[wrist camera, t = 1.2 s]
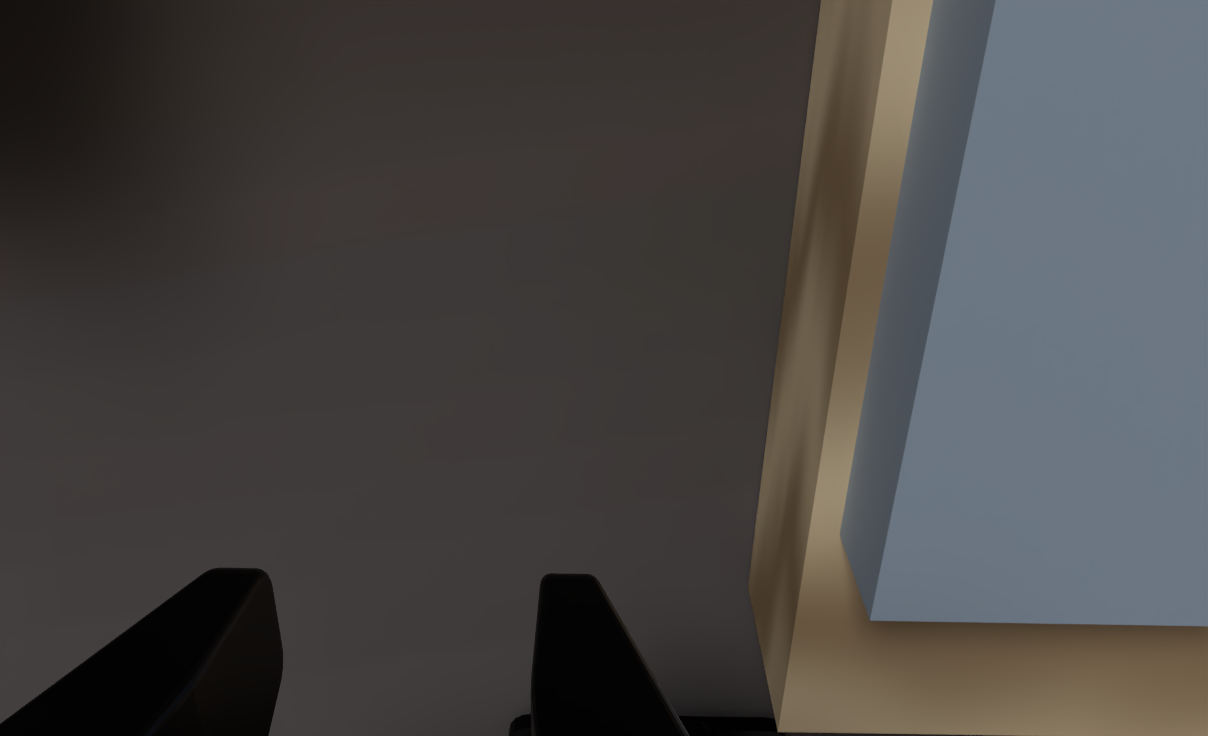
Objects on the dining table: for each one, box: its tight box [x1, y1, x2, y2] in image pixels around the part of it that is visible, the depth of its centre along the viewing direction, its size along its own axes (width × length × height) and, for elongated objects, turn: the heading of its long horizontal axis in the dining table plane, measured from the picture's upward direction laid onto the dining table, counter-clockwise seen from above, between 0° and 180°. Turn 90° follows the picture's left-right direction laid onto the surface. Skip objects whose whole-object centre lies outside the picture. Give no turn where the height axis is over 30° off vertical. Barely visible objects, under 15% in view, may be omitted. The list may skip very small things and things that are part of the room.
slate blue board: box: [840, 0, 1208, 626], centre depth 13 cm, size 9×6×2 cm, turn 178°
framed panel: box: [748, 0, 1208, 736], centre depth 16 cm, size 18×8×4 cm, turn 178°
